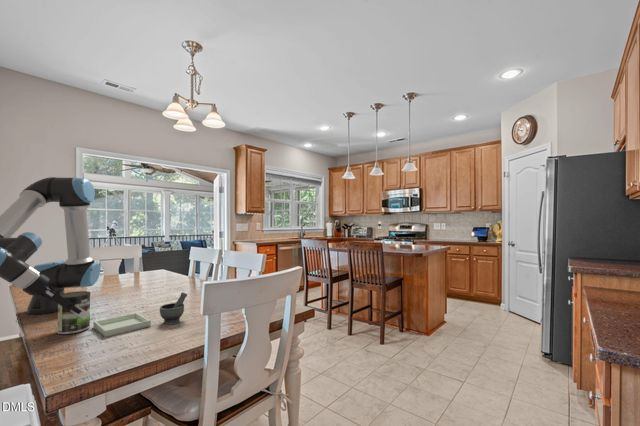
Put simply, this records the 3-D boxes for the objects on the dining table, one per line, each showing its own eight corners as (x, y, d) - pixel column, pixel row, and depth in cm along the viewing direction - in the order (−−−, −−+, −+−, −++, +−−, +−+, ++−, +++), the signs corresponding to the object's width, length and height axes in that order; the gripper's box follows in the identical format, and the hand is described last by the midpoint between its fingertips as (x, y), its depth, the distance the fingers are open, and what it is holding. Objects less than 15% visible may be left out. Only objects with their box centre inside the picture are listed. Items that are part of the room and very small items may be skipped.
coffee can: (96, 325, 127) (96, 291, 127) (71, 335, 117) (72, 298, 117) (76, 324, 129) (76, 290, 129) (50, 333, 119) (50, 296, 119)
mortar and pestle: (163, 327, 126) (163, 298, 126) (156, 321, 133) (156, 294, 133) (190, 321, 134) (191, 293, 134) (183, 316, 141) (183, 290, 141)
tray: (93, 327, 126) (93, 321, 126) (136, 318, 138) (136, 312, 138) (104, 337, 115) (105, 331, 115) (150, 326, 127) (150, 320, 127)
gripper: (17, 285, 119) (69, 315, 131) (25, 295, 104) (82, 328, 116) (36, 269, 123) (84, 300, 135) (46, 277, 108) (99, 311, 120)
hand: (83, 313), depth 125 cm, fingers closed on coffee can, 10 cm apart
